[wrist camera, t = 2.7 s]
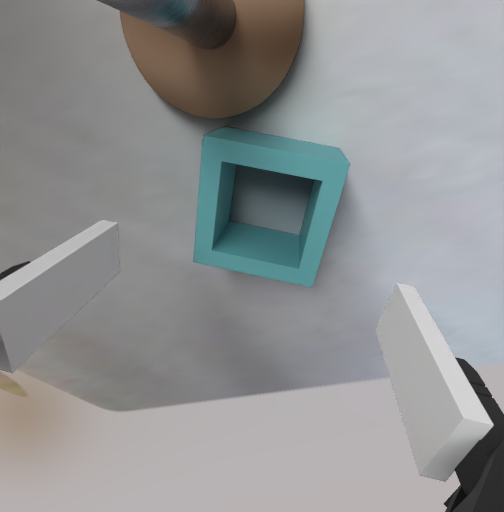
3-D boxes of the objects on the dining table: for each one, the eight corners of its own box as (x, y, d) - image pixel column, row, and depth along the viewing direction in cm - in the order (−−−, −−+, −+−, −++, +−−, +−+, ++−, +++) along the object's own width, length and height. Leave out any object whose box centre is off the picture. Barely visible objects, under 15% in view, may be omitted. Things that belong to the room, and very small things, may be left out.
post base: (126, -120, 18) (113, -136, 17) (325, -90, 18) (327, -105, 17) (132, 101, 24) (122, 102, 23) (283, 130, 24) (281, 132, 22)
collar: (224, 126, 24) (203, 135, 19) (339, 148, 24) (350, 163, 18) (213, 230, 28) (193, 262, 23) (310, 251, 28) (312, 287, 23)
